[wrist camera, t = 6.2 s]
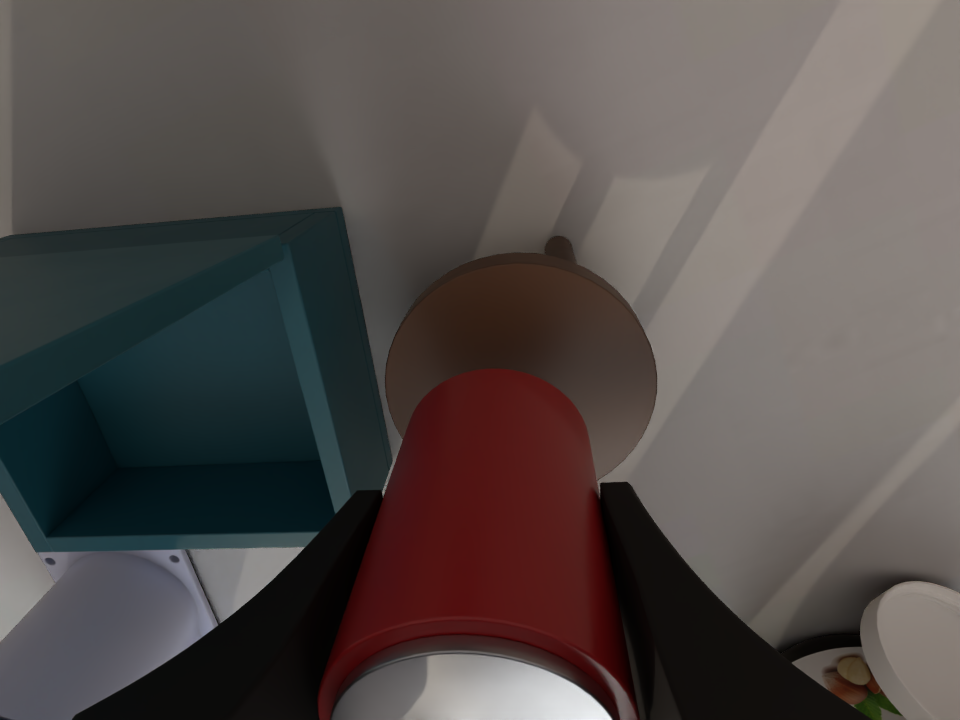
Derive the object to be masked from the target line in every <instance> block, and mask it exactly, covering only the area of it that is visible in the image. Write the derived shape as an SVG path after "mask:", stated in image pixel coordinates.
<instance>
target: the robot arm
mask: <svg viewBox="0 0 960 720" xmlns="http://www.w3.org/2000/svg"><path fill="white" fill-rule="evenodd" d="M382 500H383V496H382V491H381V490H357V491H356V492H355V493H354V494H353V495H352V496H351V497H350V499H349V500H348V501H347V502H346V503H345V504H344V505H343V506H342V507H341V509H340V510H339V511H338V512H337V513H336V514H335V515H334V516H333V518H332V519H331V520H330V521H329V522H328V523H327V524H326V525H325V526H324V528H323V529H322V530H321V531H320V532H319V533H318V534H317V535H316V536H315V537H314V538H313V540H312V541H311V542H310V543H309V544H308V545H307V546H306V547H305V548H304V549H303V550H302V551H301V552H300V553H299V554H298V555H297V557H296V558H295V559H293V560H292V561H291V562H290V563H289V564H288V565H287V566H286V567H285V568H284V569H283V570H282V571H281V572H280V573H279V574H278V575H277V576H276V577H275V578H274V579H273V580H272V581H271V582H270V583H269V584H268V585H267V586H266V587H264V588H263V589H262V590H261V591H260V592H259V593H258V594H257V595H255V596H254V597H253V598H252V599H251V600H249V601H248V602H247V603H246V604H245V605H243V606H242V607H241V608H240V609H239V610H237V611H236V612H235V613H234V614H232V615H231V616H230V617H229V618H227V619H226V620H225V621H223V622H222V623H221V624H219V625H218V623H217V621H216V619H215V617H214V614H213V612H212V610H211V607H210V605H209V603H208V601H207V598H206V596H205V594H204V591H203V589H202V587H201V585H200V582H199V580H198V578H197V575H196V573H195V571H194V569H193V566H192V564H191V562H190V559H189V557H188V555H187V553H186V550H141V551H91V552H38V554H39V556H40V558H41V560H42V561H43V563H44V565H45V566H46V568H47V570H48V571H49V573H50V575H51V576H52V578H53V580H54V581H55V584H54V585H53V586H52V588H51V589H50V590H49V591H48V592H47V593H46V594H45V595H44V596H43V597H42V598H41V599H40V600H39V601H38V603H37V604H36V605H35V606H34V607H33V608H32V609H31V610H30V611H29V612H28V613H27V614H26V615H25V616H24V617H23V619H22V620H21V621H20V622H19V623H18V624H17V625H16V626H15V627H14V628H13V629H12V630H11V631H10V632H9V634H8V635H7V636H6V637H5V638H4V639H3V640H2V641H1V642H0V720H319V716H318V705H317V697H318V691H319V686H320V683H321V680H322V677H323V674H324V671H325V668H326V665H327V662H328V659H329V656H330V653H331V650H332V647H333V644H334V641H335V638H336V636H337V633H338V630H339V627H340V624H341V621H342V618H343V615H344V612H345V609H346V606H347V603H348V600H349V597H350V594H351V591H352V588H353V585H354V583H355V580H356V577H357V574H358V571H359V568H360V565H361V562H362V559H363V556H364V553H365V550H366V547H367V544H368V541H369V538H370V535H371V532H372V530H373V527H374V524H375V521H376V518H377V515H378V512H379V509H380V506H381V503H382ZM600 502H601V507H602V513H603V519H604V524H605V530H606V535H607V540H608V545H609V550H610V556H611V561H612V567H613V572H614V578H615V583H616V589H617V594H618V600H619V605H620V611H621V616H622V622H623V627H624V633H625V638H626V644H627V649H628V655H629V660H630V666H631V671H632V677H633V682H634V688H635V694H636V699H637V705H638V710H639V716H640V720H872V719H871V718H869V717H868V716H866V715H865V714H863V713H862V712H860V711H859V710H857V709H856V708H854V707H853V706H851V705H850V704H848V703H847V702H845V701H844V700H842V699H841V698H839V697H838V696H836V695H835V694H833V693H832V692H830V691H829V690H827V689H826V688H824V687H823V686H822V685H820V684H819V683H817V682H816V681H815V680H813V679H812V678H811V677H809V676H808V675H807V674H805V673H804V672H803V671H801V670H800V669H799V668H797V667H796V666H795V665H793V664H792V663H791V662H790V661H789V660H787V659H786V658H785V657H784V656H783V655H781V654H780V653H779V652H778V651H777V650H775V649H774V648H773V647H772V646H770V645H769V644H768V643H767V642H766V641H764V640H763V639H762V638H761V637H760V636H758V635H757V634H756V633H755V632H754V631H753V630H751V629H750V628H749V627H748V626H747V625H746V624H745V623H744V622H743V621H742V620H741V619H740V618H738V617H737V616H736V615H735V614H734V613H733V612H732V611H731V610H730V609H729V608H728V607H727V606H726V605H725V604H724V603H723V602H722V601H721V600H720V599H719V598H718V597H717V596H716V595H715V594H714V593H713V592H712V591H711V590H710V589H709V588H708V587H707V586H706V584H705V583H704V582H703V581H702V580H701V579H700V578H699V577H698V576H697V575H696V573H695V572H694V571H693V570H692V569H691V568H690V567H689V565H688V564H687V563H686V562H685V561H684V559H683V558H682V557H681V556H680V555H679V553H678V552H677V551H676V550H675V548H674V547H673V546H672V545H671V543H670V542H669V541H668V539H667V538H666V537H665V535H664V534H663V533H662V532H661V530H660V529H659V527H658V526H657V525H656V523H655V522H654V520H653V519H652V518H651V516H650V515H649V513H648V512H647V510H646V509H645V507H644V506H643V504H642V503H641V501H640V499H639V498H638V496H637V494H636V493H635V491H634V489H633V487H632V486H631V485H630V484H629V483H628V482H611V483H600Z"/></svg>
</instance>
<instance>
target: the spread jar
mask: <svg viewBox="0 0 960 720" xmlns="http://www.w3.org/2000/svg"><path fill="white" fill-rule="evenodd" d="M781 655H783V656H784V657H785V658H786V659H787V660H789V661H790V662H791V663H792V664H793V665H795V666H796V667H797V668H799V669H800V670H801V671H803V672H804V673H805V674H807V675H808V676H809V677H811V678H812V679H813V680H815V681H816V682H817V683H819V684H820V685H822V686H823V687H824V688H826V689H827V690H829V691H830V692H832V693H833V694H835V695H836V696H838V697H839V698H841V699H842V700H844V701H845V702H847V703H848V704H850V705H851V706H853V707H854V708H856V709H857V710H859V711H860V712H862V713H863V714H865V715H866V716H868V717H869V718H871V719H872V720H960V593H958V592H956V591H954V590H952V589H950V588H947V587H944V586H941V585H937V584H934V583H929V582H922V581H910V582H903V583H900V584H897V585H895V586H893V587H891V588H890V589H888V590H887V591H885V592H884V593H882V594H881V595H879V596H878V597H877V598H875V599H874V600H872V601H871V602H870V603H869V604H868V606H867V607H866V609H865V610H864V613H863V616H862V619H861V625H860V635H852V634H834V635H826V636H820V637H816V638H812V639H809V640H806V641H803V642H801V643H798V644H796V645H794V646H792V647H790V648H789V649H787V650H786V651H784V652H783V653H781Z"/></svg>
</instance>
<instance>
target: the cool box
mask: <svg viewBox="0 0 960 720" xmlns="http://www.w3.org/2000/svg"><path fill="white" fill-rule="evenodd" d="M269 235H279V237H280V241H281V246H282V250H283V254H284V259H283V260H282V261H280V262H278V263H276V264H275V265H273V266H271V267H270V268H268V269H266V270H264V271H263V272H261V273H259V274H258V275H256V276H254V277H252V278H251V279H249V280H247V281H246V282H244V283H242V284H240V285H239V286H237V287H235V288H234V289H232V290H230V291H229V292H227V293H225V294H223V295H222V296H220V297H218V298H217V299H215V300H213V301H211V302H210V303H208V304H206V305H205V306H203V307H201V308H199V309H198V310H196V311H194V312H193V313H191V314H189V315H187V316H186V317H184V318H182V319H181V320H179V321H177V322H175V323H174V324H172V325H170V326H169V327H167V328H165V329H163V330H162V331H160V332H158V333H157V334H155V335H153V336H151V337H150V338H148V339H146V340H145V341H143V342H141V343H140V344H138V345H136V346H134V347H133V348H131V349H129V350H128V351H126V352H124V353H122V354H121V355H119V356H117V357H116V358H114V359H112V360H110V361H109V362H107V363H105V364H104V365H102V366H100V367H98V368H97V369H95V370H93V371H92V372H90V373H88V374H86V375H85V376H83V377H81V378H80V379H78V380H76V381H74V382H73V383H71V384H69V385H68V386H66V387H64V388H62V389H61V390H59V391H57V392H56V393H54V394H52V395H50V396H49V397H47V398H45V399H44V400H42V401H40V402H39V403H37V404H35V405H33V406H32V407H30V408H28V409H27V410H25V411H23V412H21V413H20V414H18V415H16V416H15V417H13V418H11V419H9V420H8V421H6V422H4V423H3V424H1V425H0V493H1V495H2V496H3V498H4V500H5V501H6V503H7V505H8V506H9V508H10V510H11V511H12V513H13V515H14V516H15V518H16V520H17V521H18V523H19V525H20V526H21V528H22V530H23V531H24V533H25V535H26V536H27V538H28V540H29V542H30V543H31V545H32V547H33V548H34V550H35V552H91V551H141V550H190V549H240V548H290V547H306V546H307V545H308V544H309V543H310V542H311V541H312V540H313V538H314V537H315V536H316V535H317V534H318V533H319V532H320V531H321V530H322V529H323V528H324V526H325V525H326V524H327V523H328V522H329V521H330V520H331V519H332V518H333V516H334V515H335V514H336V513H337V512H338V511H339V510H340V509H341V507H342V506H343V505H344V504H345V503H346V502H347V501H348V500H349V499H350V497H351V496H352V495H353V494H354V493H355V492H356V491H357V490H381V491H382V490H383V487H384V484H385V481H386V479H387V476H388V473H389V470H390V467H391V464H392V456H391V451H390V446H389V441H388V436H387V431H386V426H385V421H384V416H383V411H382V406H381V401H380V396H379V391H378V386H377V381H376V376H375V371H374V366H373V361H372V356H371V351H370V346H369V341H368V336H367V331H366V326H365V321H364V316H363V311H362V306H361V301H360V296H359V291H358V287H357V282H356V277H355V272H354V267H353V262H352V257H351V252H350V247H349V242H348V237H347V232H346V227H345V222H344V217H343V212H342V208H341V207H333V208H321V209H310V210H298V211H287V212H275V213H263V214H252V215H240V216H228V217H217V218H205V219H194V220H182V221H170V222H159V223H147V224H135V225H124V226H112V227H101V228H89V229H77V230H66V231H54V232H42V233H31V234H19V235H9V236H6V237H3V238H0V257H12V256H24V255H37V254H49V253H61V252H73V251H86V250H98V249H110V248H122V247H135V246H147V245H159V244H171V243H184V242H196V241H208V240H220V239H233V238H245V237H257V236H269Z"/></svg>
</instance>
